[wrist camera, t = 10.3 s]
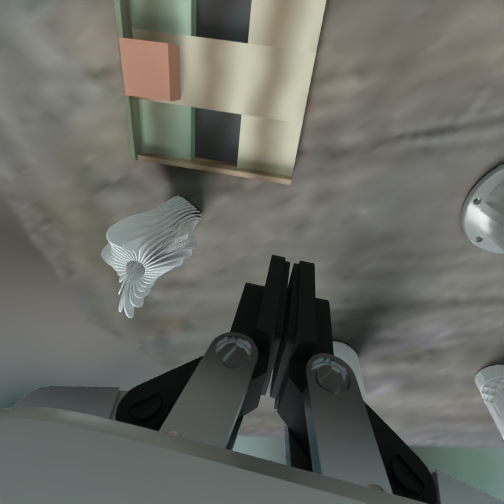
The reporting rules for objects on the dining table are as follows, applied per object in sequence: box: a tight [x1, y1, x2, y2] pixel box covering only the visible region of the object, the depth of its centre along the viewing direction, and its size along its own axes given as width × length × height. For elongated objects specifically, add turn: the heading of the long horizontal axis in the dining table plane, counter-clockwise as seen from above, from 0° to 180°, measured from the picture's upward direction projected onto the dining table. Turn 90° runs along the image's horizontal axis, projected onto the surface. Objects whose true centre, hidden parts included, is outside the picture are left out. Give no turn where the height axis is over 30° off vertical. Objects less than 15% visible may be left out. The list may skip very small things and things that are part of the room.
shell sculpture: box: [101, 196, 202, 318], centre depth 35 cm, size 8×8×18 cm
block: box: [119, 37, 181, 101], centre depth 30 cm, size 5×5×3 cm
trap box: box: [114, 0, 326, 185], centre depth 31 cm, size 20×20×4 cm
